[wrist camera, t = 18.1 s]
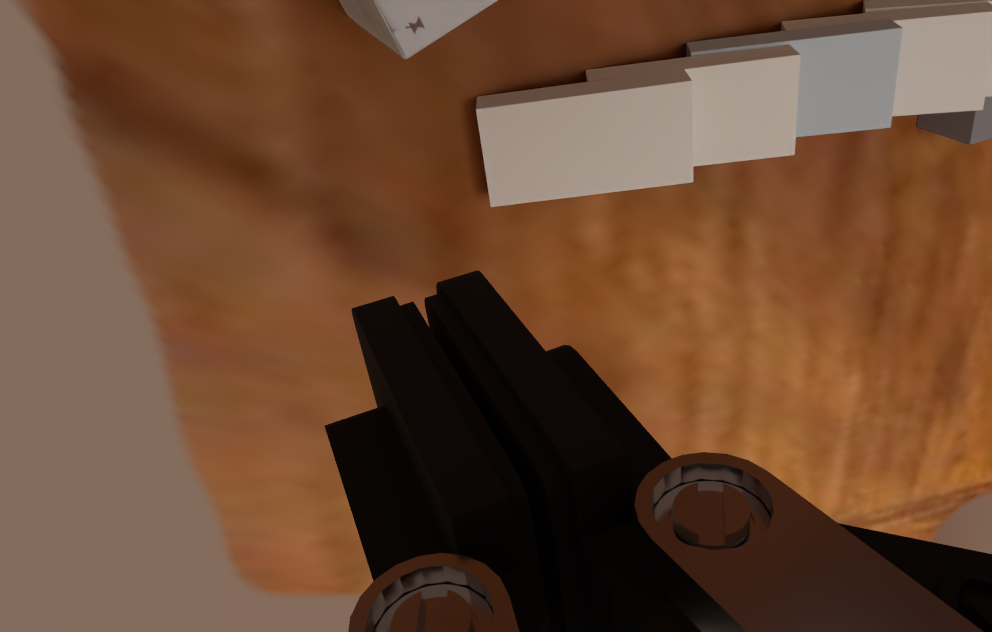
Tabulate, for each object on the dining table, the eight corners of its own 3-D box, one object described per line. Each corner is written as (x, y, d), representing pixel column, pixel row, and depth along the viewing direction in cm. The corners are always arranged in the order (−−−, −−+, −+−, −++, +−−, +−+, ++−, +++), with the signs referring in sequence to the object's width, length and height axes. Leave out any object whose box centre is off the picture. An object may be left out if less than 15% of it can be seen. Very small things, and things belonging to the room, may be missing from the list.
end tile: (477, 96, 40) (683, 68, 39) (491, 191, 42) (685, 167, 42) (475, 109, 38) (692, 80, 37) (490, 207, 41) (693, 182, 40)
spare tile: (692, 147, 43) (890, 127, 42) (691, 52, 41) (902, 27, 39) (687, 134, 45) (878, 114, 44) (686, 42, 42) (889, 18, 41)
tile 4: (781, 21, 44) (987, 1, 42) (777, 111, 46) (971, 97, 44) (785, 30, 42) (1000, 10, 40) (781, 123, 45) (982, 110, 43)
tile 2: (585, 70, 41) (788, 43, 40) (592, 163, 44) (783, 140, 43) (588, 81, 39) (800, 54, 38) (595, 177, 42) (794, 154, 41)
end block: (1003, -99, 45) (1069, -96, 42) (967, 111, 52) (1023, 128, 48) (945, -86, 44) (1009, -82, 41) (916, 126, 51) (969, 144, 47)
